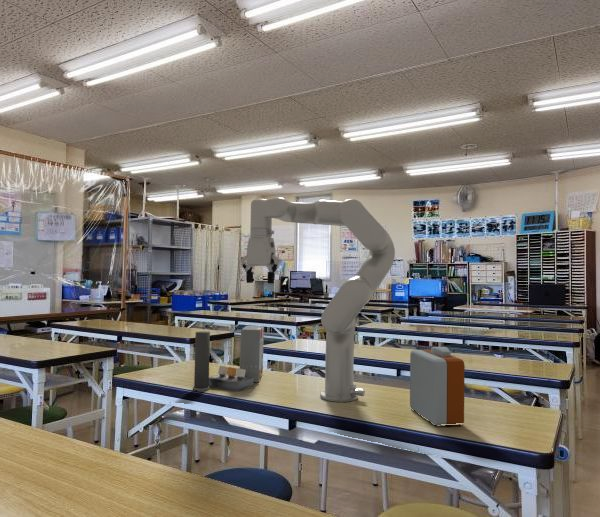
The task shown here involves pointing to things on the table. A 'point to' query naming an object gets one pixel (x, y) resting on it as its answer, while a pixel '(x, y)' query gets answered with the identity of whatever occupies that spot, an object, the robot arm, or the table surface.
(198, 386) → the dark grey tall block
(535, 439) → the table surface
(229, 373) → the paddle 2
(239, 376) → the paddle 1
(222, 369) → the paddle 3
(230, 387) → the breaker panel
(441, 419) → the grey and brown block
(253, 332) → the hard drive box
